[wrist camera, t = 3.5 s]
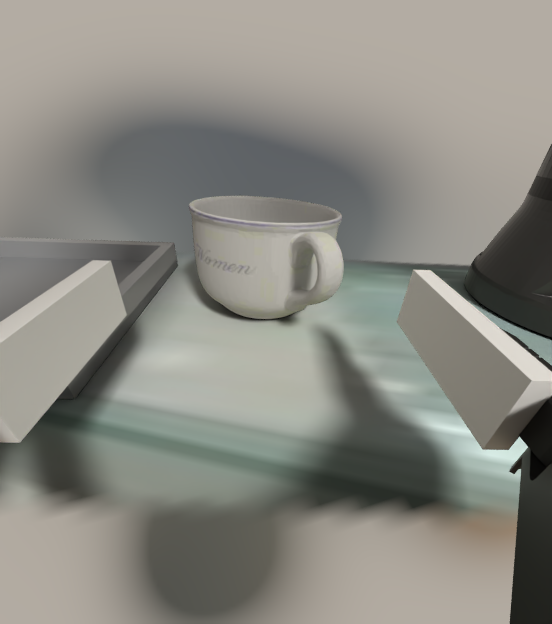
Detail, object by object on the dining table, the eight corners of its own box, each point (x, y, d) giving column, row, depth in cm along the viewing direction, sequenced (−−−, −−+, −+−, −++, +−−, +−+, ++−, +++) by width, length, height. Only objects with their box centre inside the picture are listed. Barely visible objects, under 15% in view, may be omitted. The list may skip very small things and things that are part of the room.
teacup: (198, 279, 27) (187, 190, 23) (302, 270, 30) (309, 190, 26) (209, 381, 16) (192, 244, 12) (375, 352, 19) (409, 232, 14)
